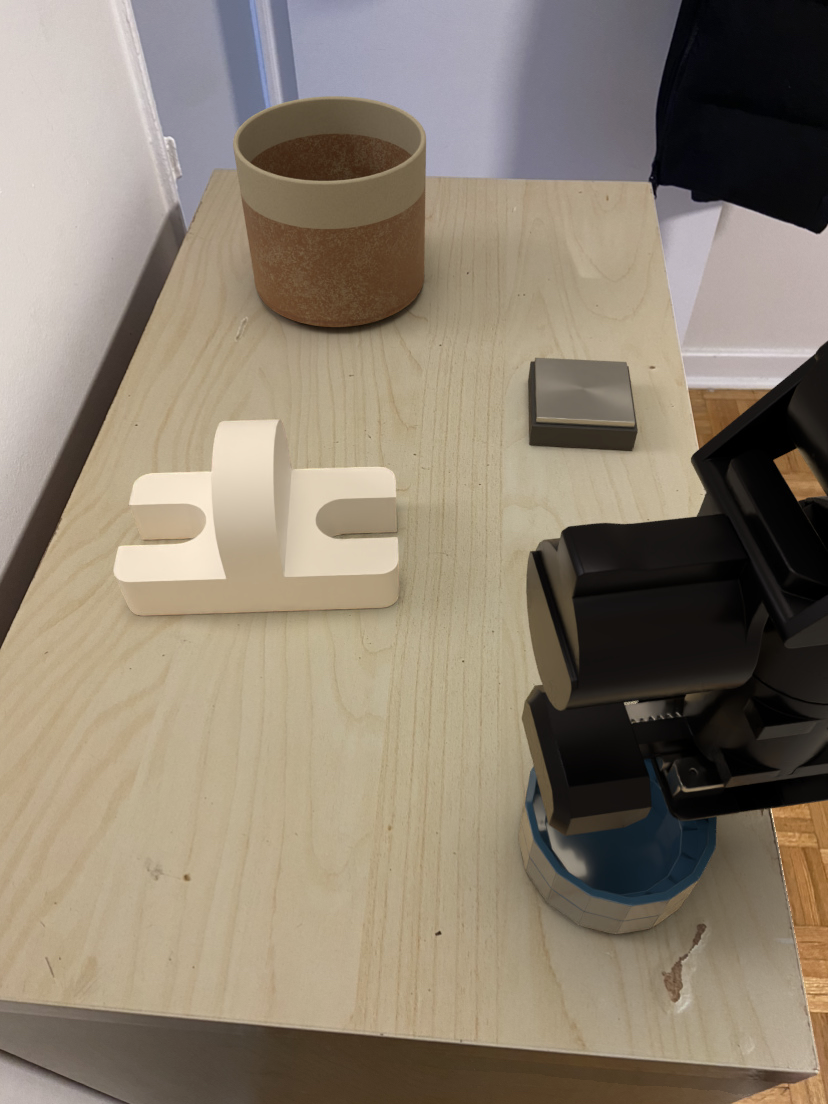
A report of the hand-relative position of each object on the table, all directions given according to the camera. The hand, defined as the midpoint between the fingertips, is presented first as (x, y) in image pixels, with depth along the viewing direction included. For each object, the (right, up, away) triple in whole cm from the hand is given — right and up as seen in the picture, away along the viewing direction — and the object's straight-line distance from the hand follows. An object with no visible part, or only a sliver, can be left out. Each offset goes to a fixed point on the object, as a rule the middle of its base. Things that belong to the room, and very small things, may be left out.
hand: (695, 808), depth 43 cm
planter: (-21, +38, +37) cm, 57 cm away
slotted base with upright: (-25, +13, +15) cm, 32 cm away
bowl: (-4, -3, +2) cm, 5 cm away
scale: (-1, +24, +25) cm, 35 cm away
